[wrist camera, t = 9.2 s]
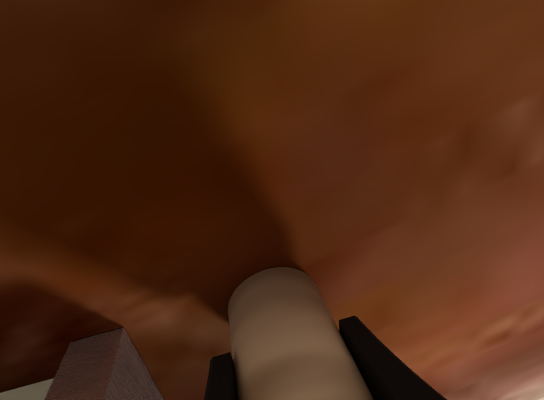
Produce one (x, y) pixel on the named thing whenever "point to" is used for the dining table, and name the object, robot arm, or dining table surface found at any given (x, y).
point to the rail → (103, 371)
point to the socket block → (28, 392)
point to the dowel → (289, 342)
